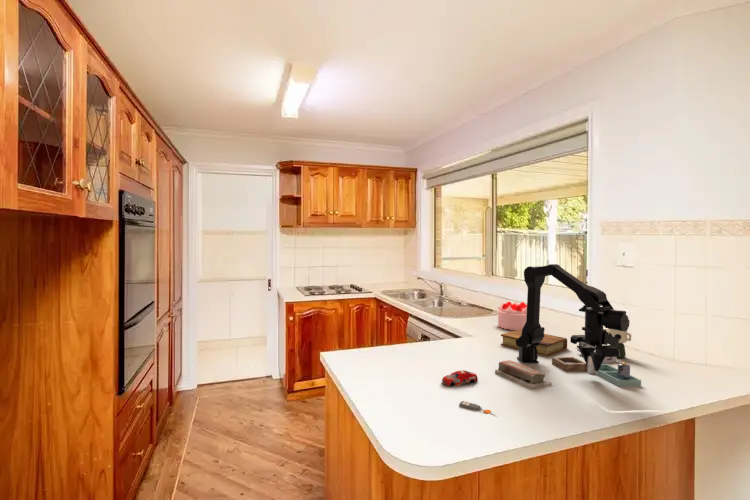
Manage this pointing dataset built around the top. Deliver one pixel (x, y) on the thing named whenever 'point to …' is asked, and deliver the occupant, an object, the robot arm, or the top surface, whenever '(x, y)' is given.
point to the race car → (460, 378)
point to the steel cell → (591, 367)
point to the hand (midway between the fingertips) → (593, 369)
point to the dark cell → (623, 371)
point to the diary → (545, 347)
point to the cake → (512, 315)
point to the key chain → (473, 407)
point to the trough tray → (616, 376)
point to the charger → (606, 359)
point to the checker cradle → (569, 364)
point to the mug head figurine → (622, 337)
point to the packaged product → (522, 375)
